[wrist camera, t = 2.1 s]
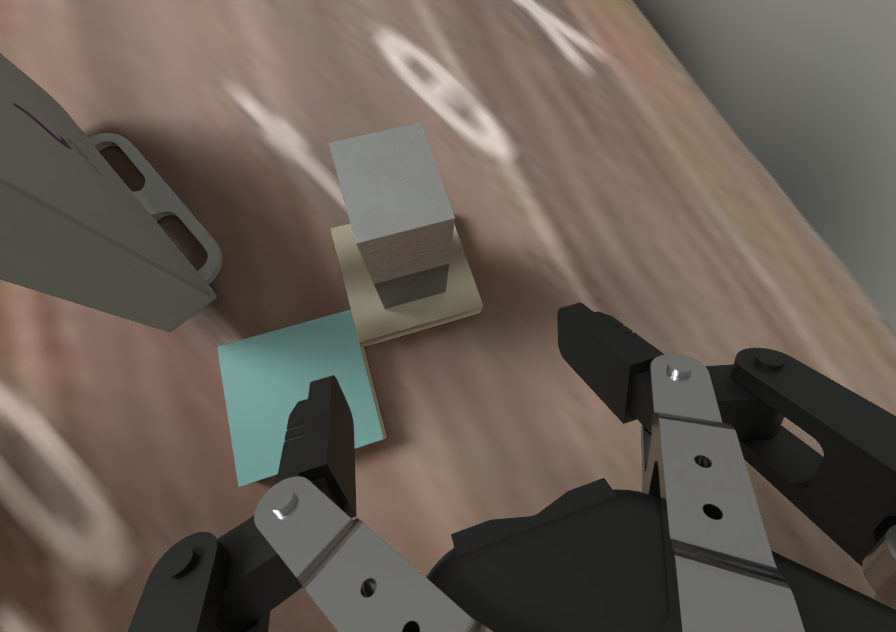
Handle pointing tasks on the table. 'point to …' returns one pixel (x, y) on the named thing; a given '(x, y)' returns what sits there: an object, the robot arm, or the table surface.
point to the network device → (90, 217)
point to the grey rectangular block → (397, 211)
